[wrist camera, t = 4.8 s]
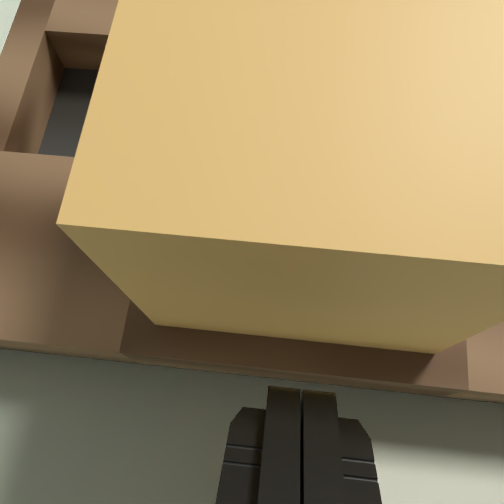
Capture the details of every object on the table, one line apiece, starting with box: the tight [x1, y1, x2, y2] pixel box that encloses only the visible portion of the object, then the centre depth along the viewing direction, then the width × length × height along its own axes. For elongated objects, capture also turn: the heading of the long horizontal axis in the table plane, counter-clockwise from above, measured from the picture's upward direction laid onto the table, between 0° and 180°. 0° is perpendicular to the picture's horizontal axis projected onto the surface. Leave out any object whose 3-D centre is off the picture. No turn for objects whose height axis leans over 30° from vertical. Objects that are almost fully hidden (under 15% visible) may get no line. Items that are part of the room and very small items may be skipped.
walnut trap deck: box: [0, 0, 504, 404], centre depth 21 cm, size 27×26×2 cm
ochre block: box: [56, 0, 504, 354], centre depth 13 cm, size 9×9×8 cm
